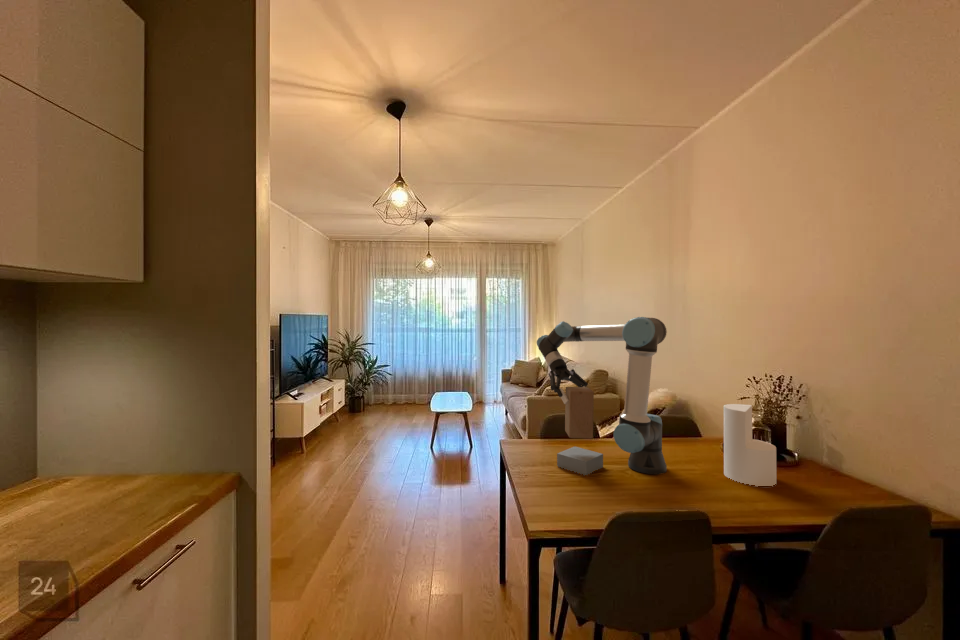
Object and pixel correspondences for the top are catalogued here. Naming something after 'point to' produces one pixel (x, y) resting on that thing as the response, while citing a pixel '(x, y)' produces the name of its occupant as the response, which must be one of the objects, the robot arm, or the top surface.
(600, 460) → the slate base block
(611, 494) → the top surface
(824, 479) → the top surface
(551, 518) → the top surface
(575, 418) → the wooden block
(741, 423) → the white stepped column
